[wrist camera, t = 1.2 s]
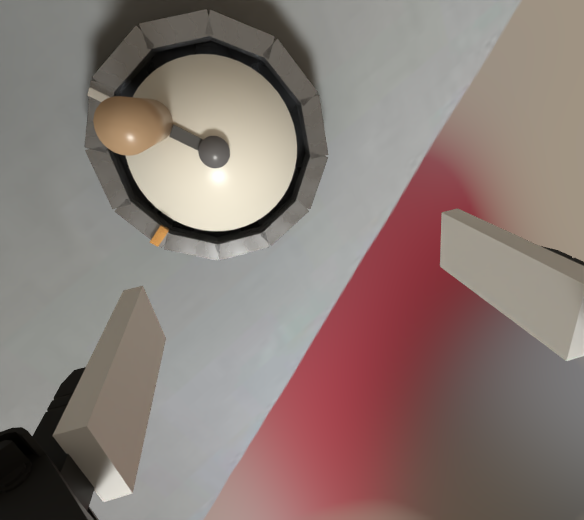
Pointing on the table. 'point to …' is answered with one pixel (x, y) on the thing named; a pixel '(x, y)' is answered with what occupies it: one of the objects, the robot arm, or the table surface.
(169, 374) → the table surface
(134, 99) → the dial
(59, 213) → the table surface
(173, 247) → the housing
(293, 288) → the table surface
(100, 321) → the table surface
